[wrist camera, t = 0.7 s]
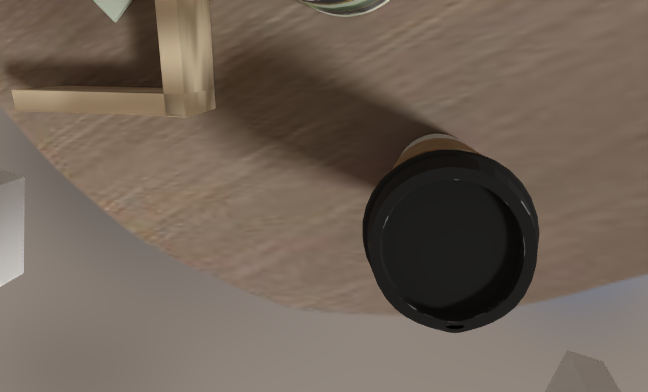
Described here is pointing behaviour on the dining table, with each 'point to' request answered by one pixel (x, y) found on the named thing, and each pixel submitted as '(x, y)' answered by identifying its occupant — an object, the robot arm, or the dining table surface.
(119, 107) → the wooden l-shaped bracket
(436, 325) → the coffee cup
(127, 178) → the dining table surface
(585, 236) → the dining table surface
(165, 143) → the dining table surface
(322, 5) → the coffee can
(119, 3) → the pad
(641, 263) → the dining table surface
